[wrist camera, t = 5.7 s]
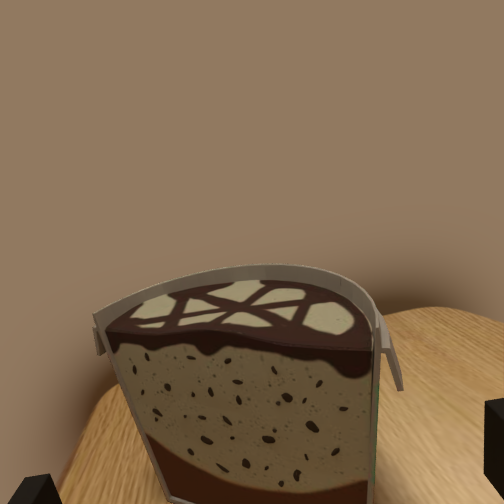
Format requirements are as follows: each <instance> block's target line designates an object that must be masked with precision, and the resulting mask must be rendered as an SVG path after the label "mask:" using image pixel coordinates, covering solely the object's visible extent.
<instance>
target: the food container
mask: <svg viewBox="0 0 504 504" xmlns="http://www.w3.org/2000/svg"><path fill="white" fill-rule="evenodd" d="M93 318H94V321H95V324H96V325H95V326H94V327H93V333H94V339H95V344H96V350H97V355H99V356H101V355H102V354H104V353H105V352H107V354H108V357H109V359H110V362H111V364H112V366H113V369H114V372H115V374H116V376H117V379H118V381H119V384H120V386H121V389H122V391H123V394H124V396H125V398H126V401H127V403H128V406H129V408H130V411H131V413H132V416H133V418H134V421H135V423H136V425H137V428H138V430H139V433H140V435H141V438H142V440H143V443H144V445H145V447H146V450H147V452H148V455H149V457H150V460H151V462H152V465H153V467H154V470H155V472H156V474H157V477H158V479H159V482H160V484H161V487H162V489H163V492H164V494H165V496H166V499H167V501H169V502H172V503H175V504H374V484H375V463H376V442H377V421H378V400H379V379H380V359H381V353H385V354H386V357H387V360H388V363H389V366H390V369H391V372H392V375H393V378H394V381H395V384H396V387H397V391H404V390H403V382H402V374H401V369H400V366H399V363H398V359H397V356H396V353H395V350H394V347H393V343H392V340H391V337H390V334H389V331H388V328H387V326H386V323H385V320H384V318H383V317H382V315H381V314H380V313H379V311H378V310H377V309H376V306H375V303H374V301H373V300H372V299H371V297H370V296H369V295H368V293H367V292H366V291H365V290H364V289H363V288H362V287H360V286H359V285H358V284H357V283H355V282H354V281H352V280H350V279H348V278H346V277H344V276H342V275H339V274H337V273H333V272H331V271H328V270H324V269H320V268H315V267H309V266H302V265H293V264H251V265H242V266H241V265H240V266H231V267H226V268H219V269H213V270H208V271H203V272H198V273H194V274H190V275H186V276H183V277H179V278H175V279H172V280H168V281H165V282H162V283H159V284H156V285H153V286H151V287H148V288H145V289H142V290H140V291H138V292H135V293H133V294H130V295H128V296H126V297H124V298H122V299H120V300H117V301H115V302H113V303H111V304H110V305H108V306H106V307H104V308H102V309H100V310H98V311H97V312H95V313H93Z"/></svg>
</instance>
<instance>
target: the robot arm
mask: <svg viewBox="0 0 504 504" xmlns="http://www.w3.org/2000/svg"><path fill="white" fill-rule="evenodd" d="M484 475H485V476H486V477H487V479H488V480H489V481H490V483H491V484H492V485H493V486H494V488H495V489H496V490H497V492H498V493H499V494H500V496H501V497H502V498H503V500H504V398H500V399H494V400H488V401H485V414H484ZM8 504H62V501H61V499H60V497H59V494H58V492H57V490H56V487H55V485H54V482H53V480H52V478H51V475H50V474H44V475H38V476H32V477H26V478H24V480H23V481H22V483H21V484H20V486H19V487H18V489H17V490H16V492H15V493H14V495H13V496H12V498H11V499H10V501H9V502H8Z"/></svg>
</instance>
